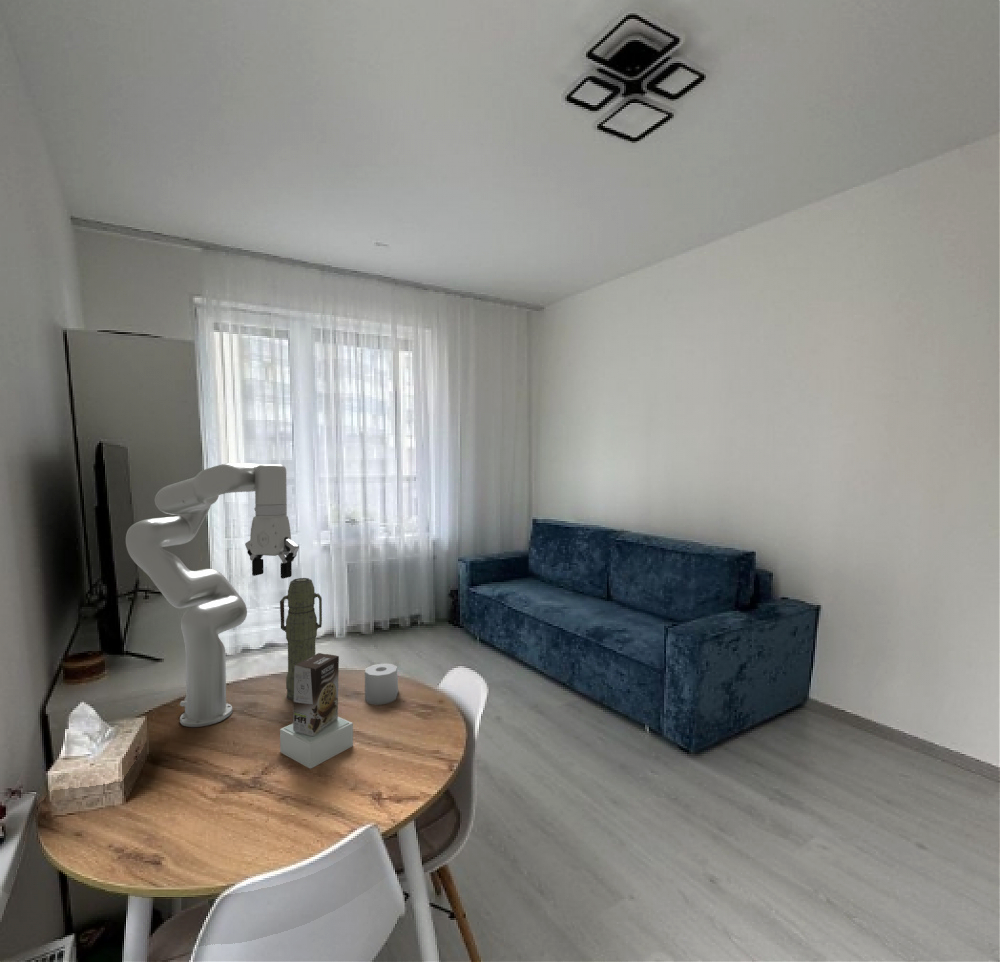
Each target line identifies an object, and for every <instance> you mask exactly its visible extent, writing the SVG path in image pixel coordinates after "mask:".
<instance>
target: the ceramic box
mask: <svg viewBox="0 0 1000 962" xmlns="http://www.w3.org/2000/svg"><path fill="white" fill-rule="evenodd" d="M279 733H280V734H279V742H280V743H279V745H280V749H279V750H280V751H279V753H281V754H283V755H285V756H287V757H288V758H290V759H292V760H294V761H295V762H297V763H299V764H301V765H302V766H305V767H306V768H308V769H310V770H311V769H313V768H314V767H316V766H318V765H320V764H322V763H324V762H325V761H327V760H329V759H331V758H333V757H336V756H337V755H339V754H340V753H342V752H344V751H346V750H348V749H349V748H352V747H353V746H354V722H352V721H349V720H347V719H345V718H342V717H340V716H338V719H337V720H336V721H334V722H333V723H332V724H330V725H329V726H327V727H326V728H325V729H323V730H322V731H320V732H319V733H318V734H316V735H315V736H310V735H306V734H302V733H299V732H295V731H293V723H291V724H289V725H287V726H284V727H282V728H280V729H279Z"/></svg>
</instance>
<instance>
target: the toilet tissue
mask: <svg viewBox="0 0 1000 962" xmlns="http://www.w3.org/2000/svg"><path fill="white" fill-rule="evenodd" d="M398 676H399V675H398V666H397V665H394V664H392V663H377V664H371V666H368V667H366V668H365V671H364V701H365V702H367V703H368V704H369V705H378V706H380V705H386V704H390V703H392V702H394V701H395V700H397V697H398V694H399V681H398Z"/></svg>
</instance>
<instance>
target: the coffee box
mask: <svg viewBox="0 0 1000 962" xmlns="http://www.w3.org/2000/svg"><path fill="white" fill-rule="evenodd" d="M339 657H340V656H339V655H333V654H331V653H330V654H328V653H322V652H318V653H315V655H314V656H312V657H310V658H308V659H306V660H304V661H302V662H300V663H298V664H296V665H294V666H295V668H294V700H293V712H292V713H293V716H292V717H293V720H292V721H293V722H292V724H293V731H295V732H299V733H302V734H306V735H310V736H315V735H316V734H318V733H319V732H320V731H322V730H323V729H325V728H326V727H327V726H329V725H330V724H332V723H333V722H334V721H336V720H337V719H338V717H339V676H340V675H339V672H340V671H339V668H340V667H339V664H340V662H339V661H340V658H339Z"/></svg>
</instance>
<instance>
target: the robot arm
mask: <svg viewBox="0 0 1000 962" xmlns="http://www.w3.org/2000/svg"><path fill="white" fill-rule="evenodd" d="M245 492H246V493H249V492H250V493H251V492H254V494H255V495H254V504H255V505H254V506H255V507H254V508H253V509H254V511H255V513H254V514H255V516H252V517H253V518H252V520H251V526H250V535H249V536H250V537H249V540H248V541H247V542H245V543H244V544H245V545H244V546H245V548H246V550H247V555H248V556H249V560H250V561H251V572H252V573H251V575H252V577H254V576H255V577H256V576H259V575H263V574H264V559H263V556H268V557H274V556H275V557H276V556H278V557H279V559H280V561H281V563H280V578H281V579H287V578H291V577H292V571H293V570H292V564H293V563H292V562H294V560H295V558H296V557H297V553H298V551H299V549H300V546H299V545H298V544H296V543H295V542H294V541H293V540H292V533H291V532H292V531H291V526H290V520H289V516H288V515H287V511H288V510H287V509H288V505H287V500H288V499H287V496H288V495H287V494H288V493H287V469H286V466H285V465H283V464H275V463H274V464H273V463H271V464H269V463H266V464H265V463H264V464H259V463H246V462H245V463H244V462H243V463H237V462H235V463H234V462H233V463H232V462H231V463H221V464H218V465H215V466H212V467H207V468H206V469H203V470H201V471H199V472H198V473H197V474H196V476H194V477H192V478H191V477H190V478H188V479H184V480H182V481H178V482H175V483H172V484H168V485H166V486H163V487H162V488H160V489H159V490H158V491H157V493H156V495H155V497H154V505H155V506H156V508H157V509H158V510H159V511H160V512H162V513H163V514H168V515H175V516H166V517H165V516H164V517H153V518H147V519H142V520H140V521H137V522H135V523H133V524H132V525H131V526H129V528H128V529H127V532H126V535H125V545H126V550H127V553H128V555H129V556H130V558H131V559H132V561H133V563H135V564H136V565H137V566H138V567H139V568H140V570H142V571H143V572H144V573H145V574H146V575H147V576H148V577H149V578H150V580H151V581H152V582H153V584H154V585H155V587H156V588H157V589H158V590H159V592H160V593H161V594H162V596H163V597H164V598H165V599H166V602H168V603H169V604H170V605H171V606H172V607H174V608H176V609H185V608H188V609H187V610H185V612H184V613H183V614H182V617H181V618H180V628H181V632H182V636H183V641H184V647H185V649H184V651H185V684H186V685H185V686H186V687H185V689H186V690H185V691H186V692H185V697H184V698H183V699H184V700H181V701H180V703H179V706H181V707H184V712H183V713H182V714H181V715H180V717H179V722H180V723H179V724H180V725H182V726H184V727H187V728H188V727H189V728H199V727H207V726H210V725H213V724H217V723H219V722H222V721H224V720H225V719H227V718H228V717H230V716H231V715H232V713H233V706H232V704H230V703H228V702H227V675H226V674H227V672H226V671H227V667H226V666H227V664H226V663H227V662H226V661H227V659H226V658H227V657H226V648H225V645H224V643H223V642H222V640H221V638H220V636H219V635H220V634H221V633H223V632H226V631H229V630H231V629H234V628H237V627H238V626H241V625H242V624H243V623H244V622H245V620H246V618H247V615H248V607H247V605H246V603H245V601H244V600H243V598H242V597H241V596H240V594H239V592H237V590H236V589H235V588H234V586H233V585H232V584H231V583H230V581H229V580H228V579H227V578H226V577H225V575H224V574H222V573H221V571H218V570H216V569H213V568H203V569H198V570H191V569H189V568H188V567H187V566H186V565H185V564H184V562H183V560H181V559H180V558H179V557H178V555H175V554H174V553H172V552H170V551H168V550H166V549H164V548H166V547H171V546H178V545H179V546H180V545H184V544H187V543H189V542H190V541H192V540H193V539H194V538H195V537H196V536H197V534H198V532H199V530H200V528H201V526H202V524H203V523H204V520H205V518H206V517H207V514H208V512H209V510H210V508H211V506H212V505H213V504H215V503H216V502H217V500H218V499H219V496H221V495H225V494H230V493H245Z"/></svg>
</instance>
